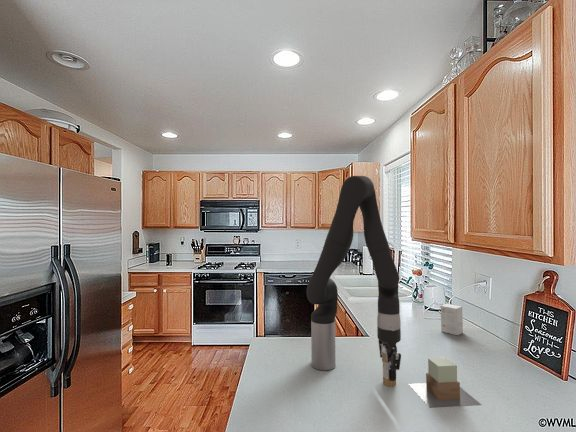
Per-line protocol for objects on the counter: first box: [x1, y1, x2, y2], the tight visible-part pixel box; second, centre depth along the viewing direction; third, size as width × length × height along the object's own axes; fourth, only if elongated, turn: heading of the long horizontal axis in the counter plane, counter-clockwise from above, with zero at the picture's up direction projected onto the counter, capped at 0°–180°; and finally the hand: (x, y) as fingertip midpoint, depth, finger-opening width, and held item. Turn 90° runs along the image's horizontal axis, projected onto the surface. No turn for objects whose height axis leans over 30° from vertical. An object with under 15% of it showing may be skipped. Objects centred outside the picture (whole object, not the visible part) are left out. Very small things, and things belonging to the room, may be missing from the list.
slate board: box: [408, 382, 482, 409], centre depth 103 cm, size 14×16×1 cm
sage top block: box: [427, 357, 458, 383], centre depth 103 cm, size 6×6×5 cm
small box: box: [440, 303, 464, 336], centre depth 163 cm, size 8×6×13 cm
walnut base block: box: [425, 372, 461, 400], centre depth 103 cm, size 7×7×5 cm
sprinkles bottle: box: [382, 345, 397, 388], centre depth 110 cm, size 5×5×13 cm
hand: (389, 376), depth 109 cm, fingers closed on sprinkles bottle, 4 cm apart
